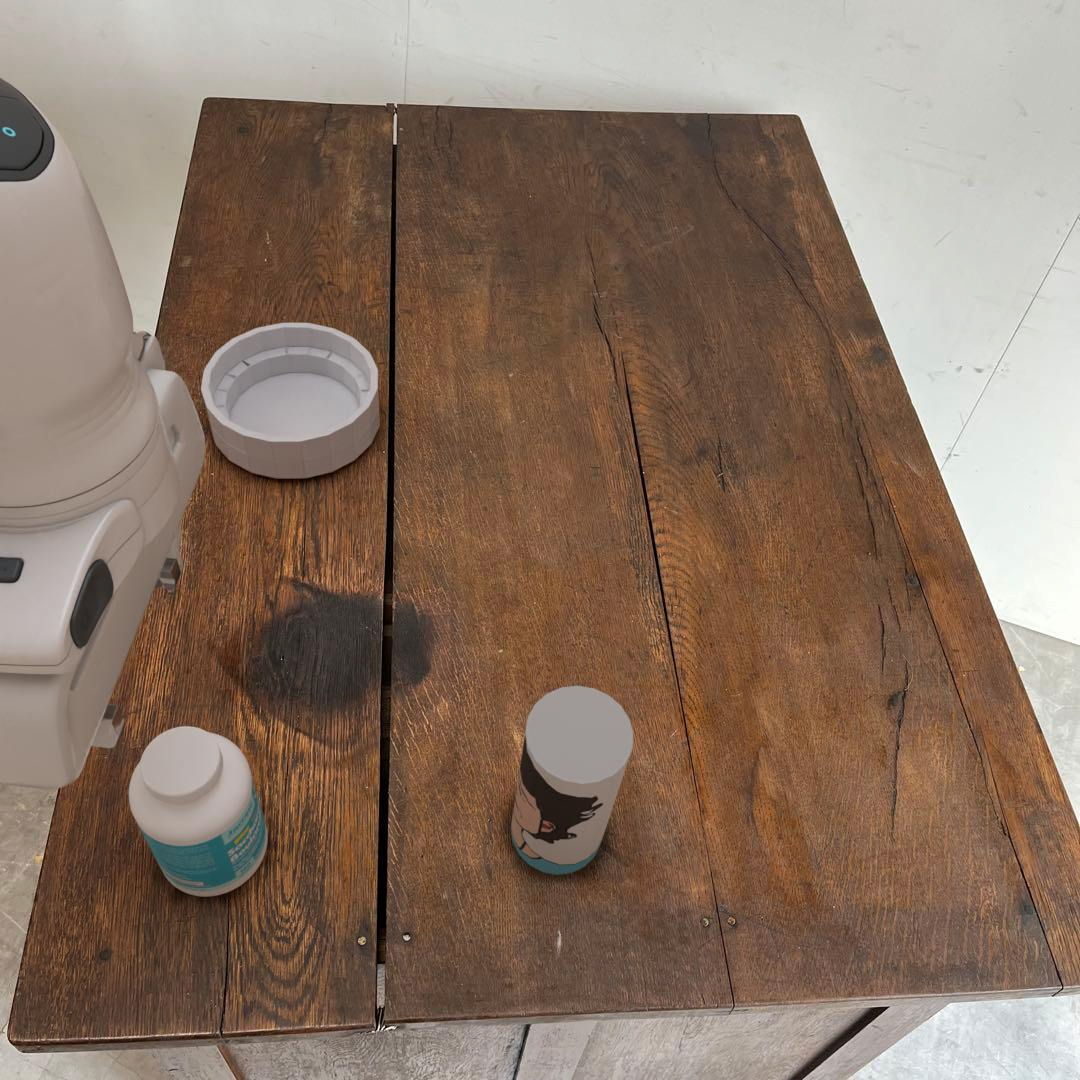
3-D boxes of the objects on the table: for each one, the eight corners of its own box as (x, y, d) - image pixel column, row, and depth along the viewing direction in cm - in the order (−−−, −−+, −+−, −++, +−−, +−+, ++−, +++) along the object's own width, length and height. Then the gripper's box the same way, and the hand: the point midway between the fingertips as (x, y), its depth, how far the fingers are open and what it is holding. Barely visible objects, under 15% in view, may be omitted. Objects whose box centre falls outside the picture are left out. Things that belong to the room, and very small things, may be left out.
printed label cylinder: (565, 770, 78) (588, 668, 67) (620, 840, 75) (655, 746, 64) (492, 818, 76) (504, 719, 64) (547, 893, 72) (569, 804, 61)
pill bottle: (263, 899, 71) (234, 818, 60) (152, 902, 70) (102, 821, 59) (274, 796, 75) (249, 705, 65) (170, 798, 74) (127, 706, 64)
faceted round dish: (202, 484, 93) (191, 442, 89) (220, 365, 103) (211, 321, 98) (379, 482, 95) (377, 441, 90) (380, 365, 104) (378, 323, 100)
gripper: (77, 301, 49) (141, 493, 59) (-140, 673, 36) (-7, 831, 47) (210, 318, 49) (250, 506, 59) (41, 694, 36) (131, 847, 47)
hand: (136, 652), depth 53 cm, fingers open, 8 cm apart
